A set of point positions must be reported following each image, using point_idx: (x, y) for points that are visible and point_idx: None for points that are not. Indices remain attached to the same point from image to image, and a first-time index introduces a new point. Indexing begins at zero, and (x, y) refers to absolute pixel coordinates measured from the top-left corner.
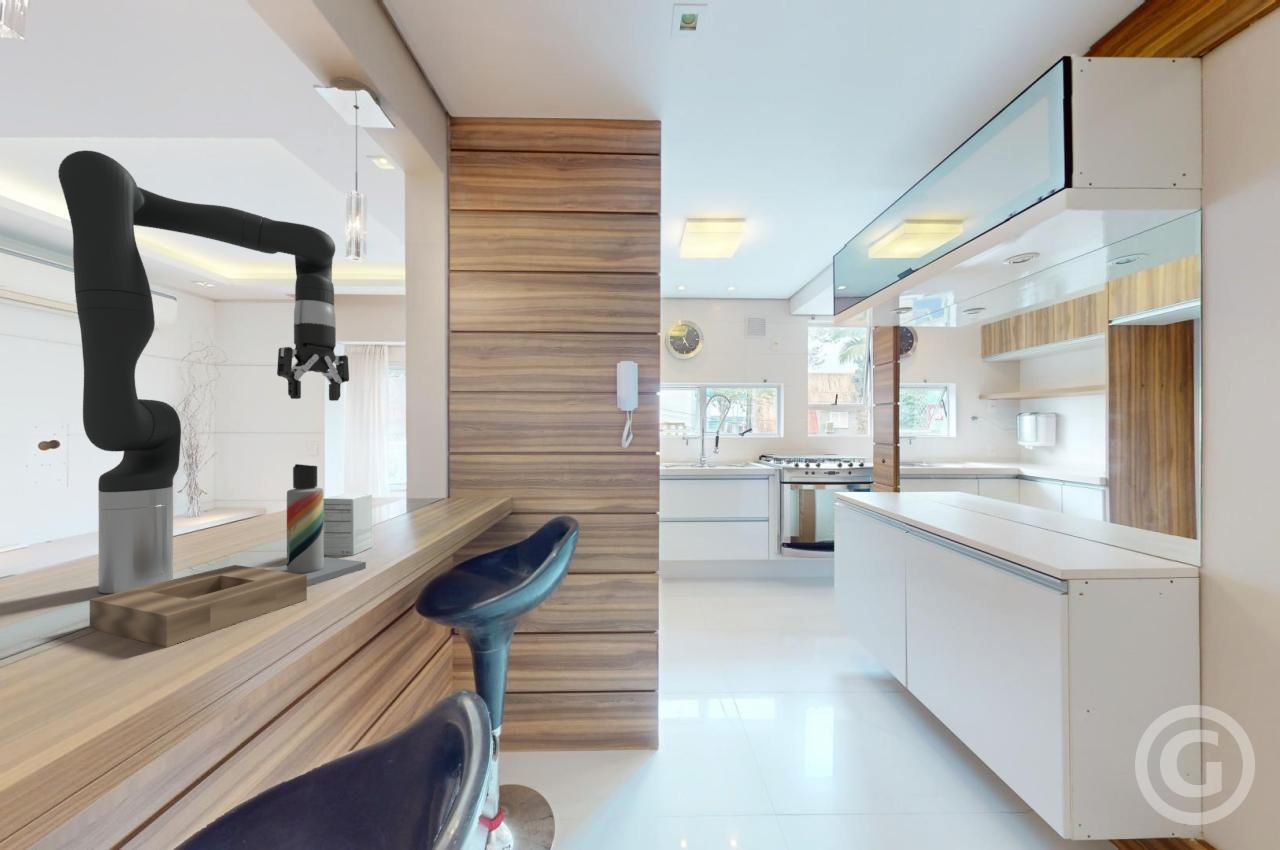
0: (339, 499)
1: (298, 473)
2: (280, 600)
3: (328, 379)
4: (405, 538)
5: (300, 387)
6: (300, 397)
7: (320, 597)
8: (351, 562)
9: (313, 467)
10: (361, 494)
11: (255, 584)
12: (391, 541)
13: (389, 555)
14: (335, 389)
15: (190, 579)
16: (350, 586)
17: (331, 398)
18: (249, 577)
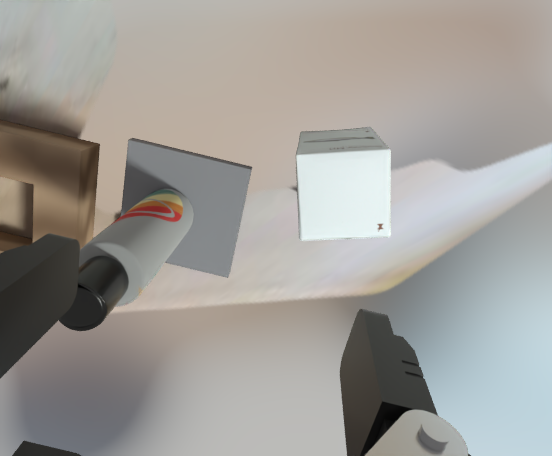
0: (298, 206)
1: None
2: None
3: (376, 449)
4: (461, 214)
5: (25, 350)
6: (71, 304)
7: None
8: (222, 256)
9: (81, 328)
10: (374, 218)
11: None
12: (430, 199)
13: (311, 263)
14: (345, 428)
15: (4, 158)
16: (146, 305)
17: (355, 334)
18: (39, 237)
